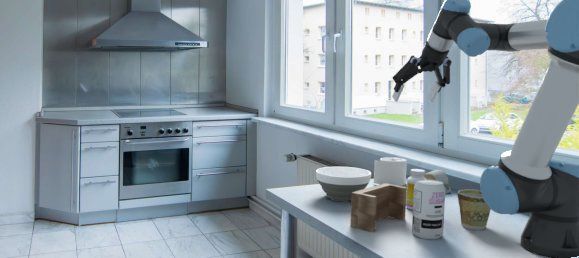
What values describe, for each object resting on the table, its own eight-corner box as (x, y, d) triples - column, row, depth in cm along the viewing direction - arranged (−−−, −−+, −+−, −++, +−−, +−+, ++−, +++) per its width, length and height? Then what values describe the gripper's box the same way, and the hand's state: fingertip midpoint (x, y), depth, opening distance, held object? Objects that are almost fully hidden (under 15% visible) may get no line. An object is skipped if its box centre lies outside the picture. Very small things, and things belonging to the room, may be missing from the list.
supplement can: (419, 228, 143) (422, 177, 141) (447, 235, 137) (450, 182, 136) (406, 235, 136) (409, 182, 135) (435, 242, 131) (438, 186, 130)
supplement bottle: (426, 211, 161) (429, 172, 159) (405, 210, 162) (407, 171, 160) (425, 206, 167) (427, 168, 166) (405, 205, 168) (407, 167, 167)
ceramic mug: (418, 189, 191) (420, 170, 190) (431, 186, 197) (432, 167, 196) (442, 195, 183) (444, 175, 182) (455, 192, 189) (456, 172, 188)
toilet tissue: (410, 183, 201) (411, 159, 200) (395, 188, 193) (396, 163, 191) (387, 179, 209) (388, 156, 207) (372, 184, 200) (373, 159, 199)
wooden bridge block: (405, 219, 152) (406, 187, 150) (372, 232, 138) (373, 197, 137) (384, 214, 157) (385, 183, 156) (350, 226, 144) (351, 192, 142)
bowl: (312, 191, 186) (313, 166, 184) (364, 191, 186) (365, 166, 185) (317, 205, 166) (318, 177, 165) (375, 205, 167) (376, 177, 166)
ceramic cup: (478, 234, 139) (481, 199, 138) (448, 224, 147) (450, 191, 146) (504, 226, 147) (506, 193, 145) (474, 218, 155) (476, 186, 153)
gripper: (466, 40, 158) (439, 92, 172) (397, 36, 150) (375, 91, 164) (478, 53, 153) (449, 106, 166) (407, 50, 145) (383, 106, 158)
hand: (412, 99), depth 165 cm, fingers open, 13 cm apart
